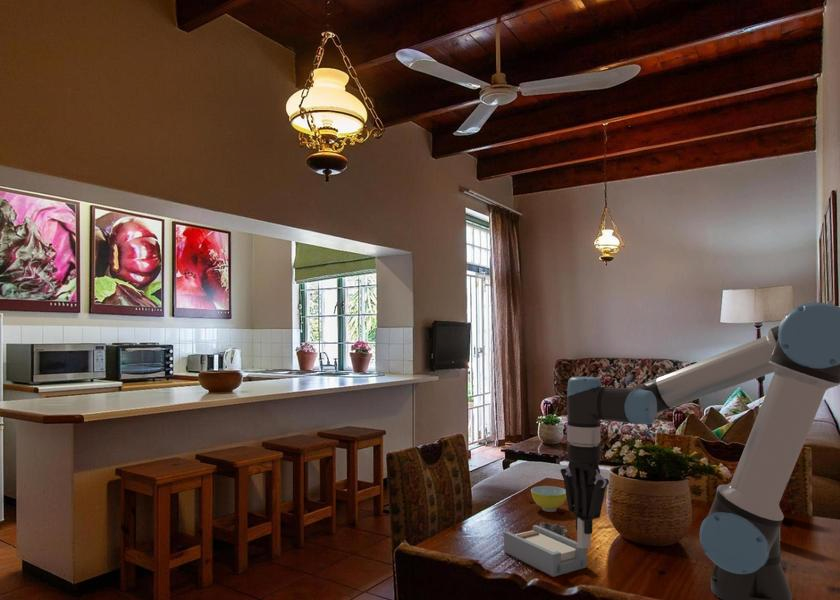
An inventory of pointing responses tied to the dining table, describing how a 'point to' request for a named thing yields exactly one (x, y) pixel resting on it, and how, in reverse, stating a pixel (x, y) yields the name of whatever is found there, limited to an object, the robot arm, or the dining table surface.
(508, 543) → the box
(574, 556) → the lid
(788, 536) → the dining table surface
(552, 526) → the egg carton
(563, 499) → the bowl
